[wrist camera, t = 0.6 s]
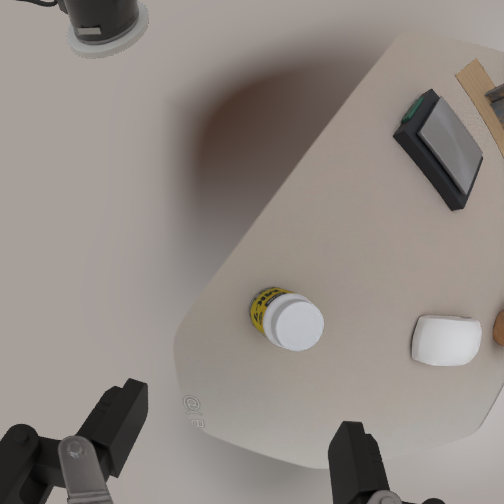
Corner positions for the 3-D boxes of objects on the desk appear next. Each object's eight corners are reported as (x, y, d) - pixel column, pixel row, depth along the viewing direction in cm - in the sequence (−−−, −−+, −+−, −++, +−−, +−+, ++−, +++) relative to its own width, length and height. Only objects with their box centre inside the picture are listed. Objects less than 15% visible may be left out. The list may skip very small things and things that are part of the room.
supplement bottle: (265, 277, 31) (295, 283, 23) (301, 302, 32) (339, 315, 24) (238, 317, 30) (259, 337, 22) (276, 341, 31) (306, 366, 23)
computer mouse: (461, 356, 38) (490, 364, 32) (404, 361, 35) (436, 373, 29) (468, 315, 38) (499, 320, 32) (414, 312, 35) (448, 319, 29)
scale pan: (416, 133, 33) (420, 131, 32) (438, 97, 35) (441, 95, 34) (462, 195, 35) (466, 194, 34) (479, 153, 36) (482, 152, 35)
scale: (390, 134, 35) (401, 127, 33) (420, 92, 37) (430, 86, 35) (451, 211, 37) (463, 208, 35) (472, 161, 39) (483, 157, 37)
